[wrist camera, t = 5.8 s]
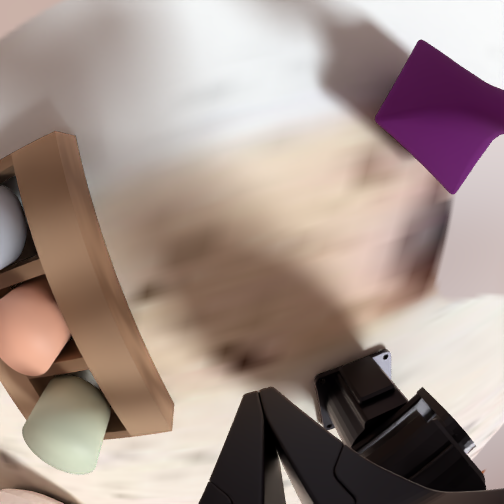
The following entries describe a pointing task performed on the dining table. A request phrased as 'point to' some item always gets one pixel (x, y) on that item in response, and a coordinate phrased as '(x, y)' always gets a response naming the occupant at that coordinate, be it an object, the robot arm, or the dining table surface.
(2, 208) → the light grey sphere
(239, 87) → the dining table surface
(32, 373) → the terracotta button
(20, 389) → the wooden compartment tray
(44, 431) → the pale green rounded cube
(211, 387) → the dining table surface
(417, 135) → the perfume bottle
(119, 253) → the dining table surface
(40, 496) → the bowl
